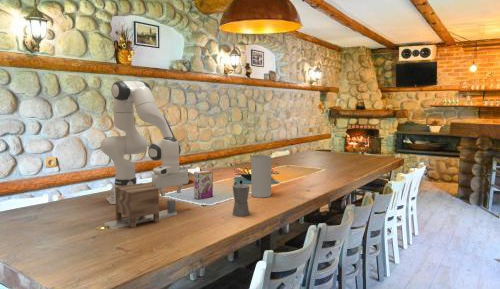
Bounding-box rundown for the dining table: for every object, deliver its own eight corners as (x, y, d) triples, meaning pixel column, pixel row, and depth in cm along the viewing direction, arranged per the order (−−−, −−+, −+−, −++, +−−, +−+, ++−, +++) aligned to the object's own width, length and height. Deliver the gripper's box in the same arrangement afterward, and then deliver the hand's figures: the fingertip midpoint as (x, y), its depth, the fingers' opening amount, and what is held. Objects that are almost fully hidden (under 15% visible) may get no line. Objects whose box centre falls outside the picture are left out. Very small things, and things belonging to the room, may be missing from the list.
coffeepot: (254, 216, 194) (254, 181, 193) (237, 218, 190) (237, 183, 189) (242, 209, 208) (242, 176, 207) (226, 211, 204) (226, 178, 203)
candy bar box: (198, 199, 229) (198, 173, 227) (193, 198, 232) (193, 172, 231) (213, 196, 237) (213, 170, 235) (208, 195, 240) (208, 169, 239)
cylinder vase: (260, 199, 231) (260, 158, 228) (247, 195, 240) (247, 156, 238) (275, 196, 239) (275, 156, 237) (261, 192, 248) (261, 154, 246)
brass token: (94, 228, 175) (94, 226, 175) (105, 226, 179) (105, 224, 179) (98, 231, 172) (97, 229, 172) (109, 229, 175) (109, 227, 175)
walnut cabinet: (114, 219, 188) (113, 187, 187) (142, 214, 198) (141, 183, 196) (129, 228, 175) (128, 193, 173) (159, 222, 185) (158, 188, 183)
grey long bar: (170, 211, 203) (169, 198, 203) (178, 214, 197) (177, 201, 197) (103, 225, 180) (103, 211, 179) (110, 229, 174) (110, 214, 173)
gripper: (184, 165, 206) (184, 190, 208) (150, 169, 193) (150, 196, 195) (190, 167, 202) (191, 192, 204) (156, 171, 188) (156, 198, 190)
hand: (171, 194), depth 199 cm, fingers open, 8 cm apart
